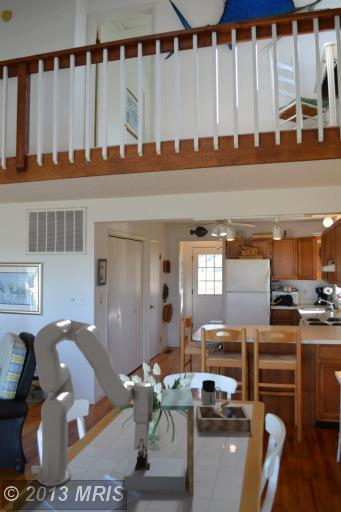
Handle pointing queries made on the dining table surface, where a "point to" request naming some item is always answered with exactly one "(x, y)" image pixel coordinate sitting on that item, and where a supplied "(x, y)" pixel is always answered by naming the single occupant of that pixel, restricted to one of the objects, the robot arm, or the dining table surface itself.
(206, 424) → the display tray
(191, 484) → the glass-topped wooden stand
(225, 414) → the fish sculpture
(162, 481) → the socket block
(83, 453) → the dining table surface
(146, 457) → the peg
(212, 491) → the dining table surface
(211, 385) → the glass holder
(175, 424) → the dining table surface
